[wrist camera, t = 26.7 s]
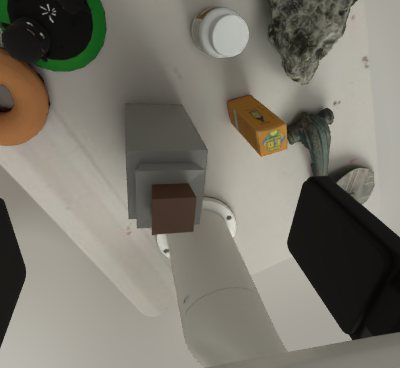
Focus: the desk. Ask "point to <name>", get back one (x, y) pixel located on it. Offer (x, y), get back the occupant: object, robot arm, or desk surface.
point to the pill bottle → (220, 32)
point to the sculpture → (358, 184)
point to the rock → (306, 32)
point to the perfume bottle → (164, 168)
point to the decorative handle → (314, 138)
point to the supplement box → (258, 125)
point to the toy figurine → (53, 31)
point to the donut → (22, 101)
